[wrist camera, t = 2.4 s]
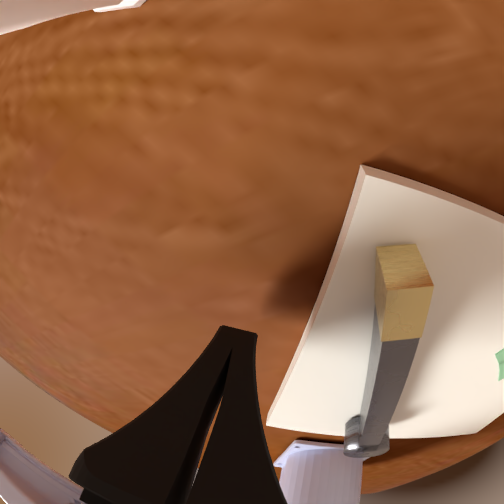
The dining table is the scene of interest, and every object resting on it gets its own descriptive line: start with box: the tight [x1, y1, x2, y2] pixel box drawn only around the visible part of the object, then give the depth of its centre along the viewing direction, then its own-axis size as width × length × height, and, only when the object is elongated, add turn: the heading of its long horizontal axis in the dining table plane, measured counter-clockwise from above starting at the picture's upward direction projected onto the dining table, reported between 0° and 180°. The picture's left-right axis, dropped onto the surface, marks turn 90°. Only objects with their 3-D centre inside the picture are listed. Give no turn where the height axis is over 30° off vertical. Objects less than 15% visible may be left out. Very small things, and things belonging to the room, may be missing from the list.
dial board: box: [266, 164, 504, 438], centre depth 12 cm, size 17×19×1 cm
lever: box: [343, 244, 434, 458], centre depth 11 cm, size 14×3×2 cm, turn 13°
